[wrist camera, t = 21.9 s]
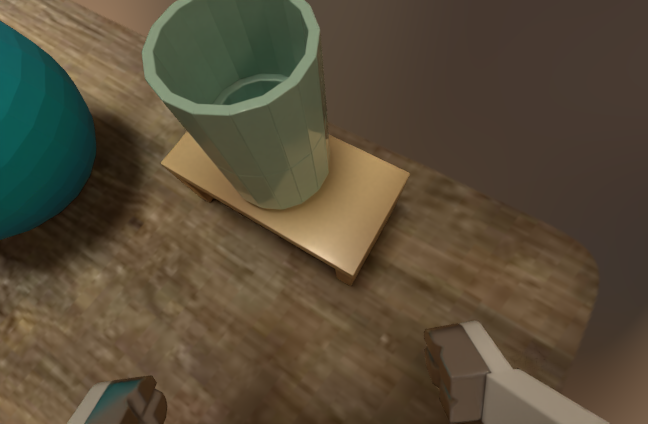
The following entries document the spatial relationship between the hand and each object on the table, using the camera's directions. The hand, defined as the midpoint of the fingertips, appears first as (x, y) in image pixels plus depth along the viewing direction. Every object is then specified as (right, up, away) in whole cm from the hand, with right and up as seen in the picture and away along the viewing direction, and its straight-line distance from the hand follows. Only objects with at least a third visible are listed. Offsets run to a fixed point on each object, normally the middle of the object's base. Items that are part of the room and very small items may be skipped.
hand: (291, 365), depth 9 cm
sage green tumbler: (-2, +7, +10) cm, 12 cm away
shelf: (-1, +5, +15) cm, 16 cm away
